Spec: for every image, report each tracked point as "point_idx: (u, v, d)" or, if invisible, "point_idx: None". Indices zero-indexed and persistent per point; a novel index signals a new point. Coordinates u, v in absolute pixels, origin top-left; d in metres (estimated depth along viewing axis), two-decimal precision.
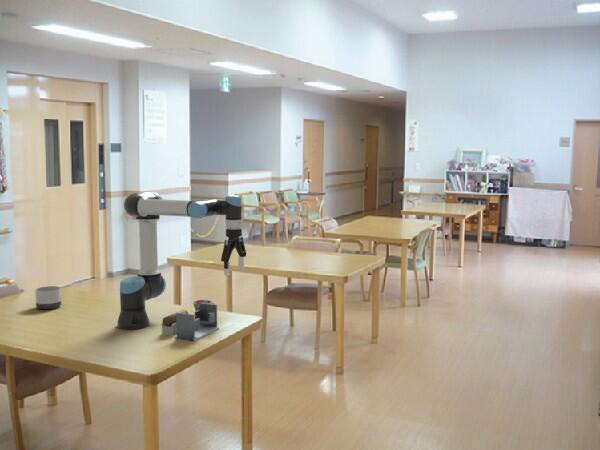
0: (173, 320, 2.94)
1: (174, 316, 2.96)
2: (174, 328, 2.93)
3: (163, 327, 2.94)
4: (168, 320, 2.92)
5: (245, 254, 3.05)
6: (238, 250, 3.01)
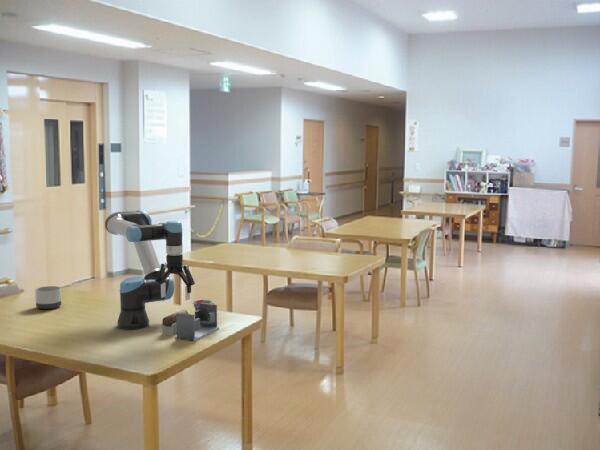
0: (173, 320, 2.94)
1: (174, 316, 2.96)
2: (174, 328, 2.93)
3: (163, 327, 2.94)
4: (168, 320, 2.92)
5: (190, 285, 2.92)
6: None
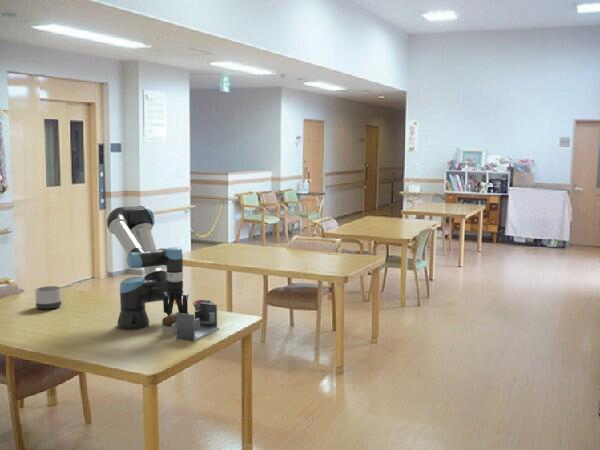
0: (173, 320, 2.94)
1: (174, 316, 2.96)
2: (174, 328, 2.93)
3: (163, 327, 2.94)
4: (168, 320, 2.92)
5: None
6: None
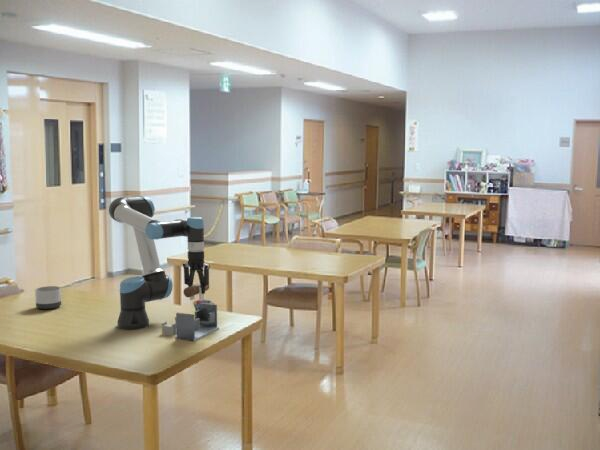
0: (194, 291, 2.87)
1: (195, 287, 2.89)
2: (174, 328, 2.93)
3: (163, 327, 2.94)
4: (189, 291, 2.85)
5: (204, 285, 2.89)
6: None
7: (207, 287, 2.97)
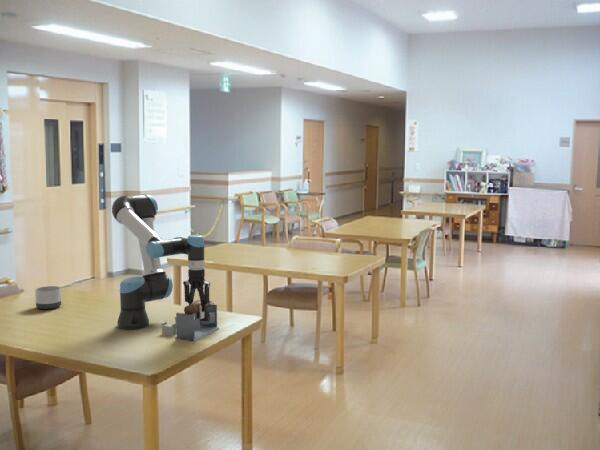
0: (195, 309, 2.88)
1: (196, 305, 2.90)
2: (174, 328, 2.93)
3: (163, 327, 2.94)
4: (190, 309, 2.86)
5: (204, 303, 2.91)
6: None
7: (207, 305, 2.98)
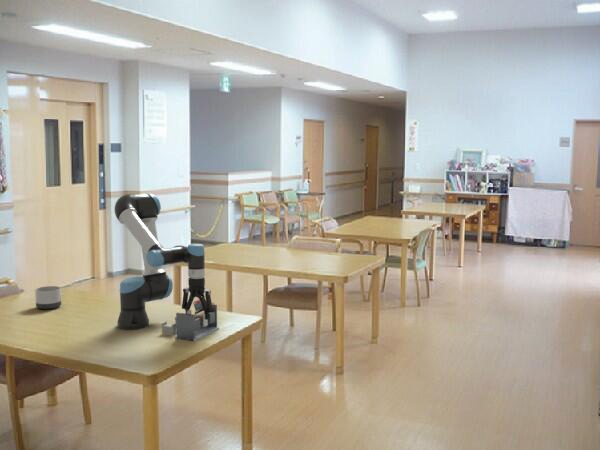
0: None
1: (196, 317, 2.91)
2: (174, 328, 2.93)
3: (163, 327, 2.94)
4: None
5: (208, 311, 2.90)
6: None
7: None
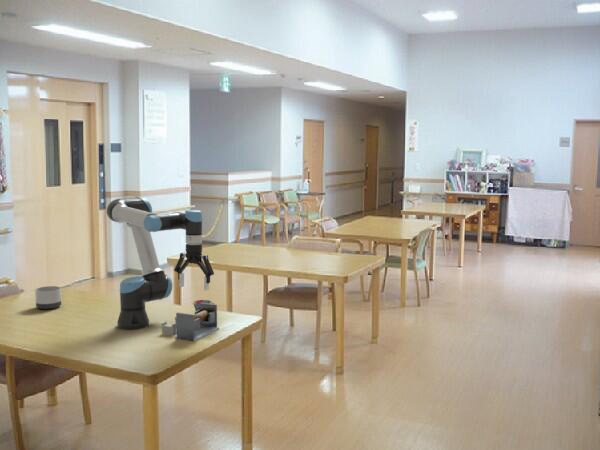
0: None
1: (196, 317, 2.91)
2: (174, 328, 2.93)
3: (163, 327, 2.94)
4: None
5: (209, 275, 2.89)
6: None
7: (207, 316, 2.99)
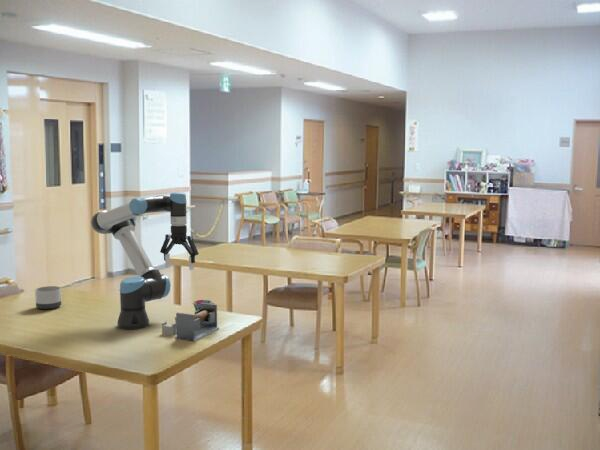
0: None
1: (196, 317, 2.91)
2: (174, 328, 2.93)
3: (163, 327, 2.94)
4: None
5: (194, 255, 2.98)
6: None
7: (207, 316, 2.99)
